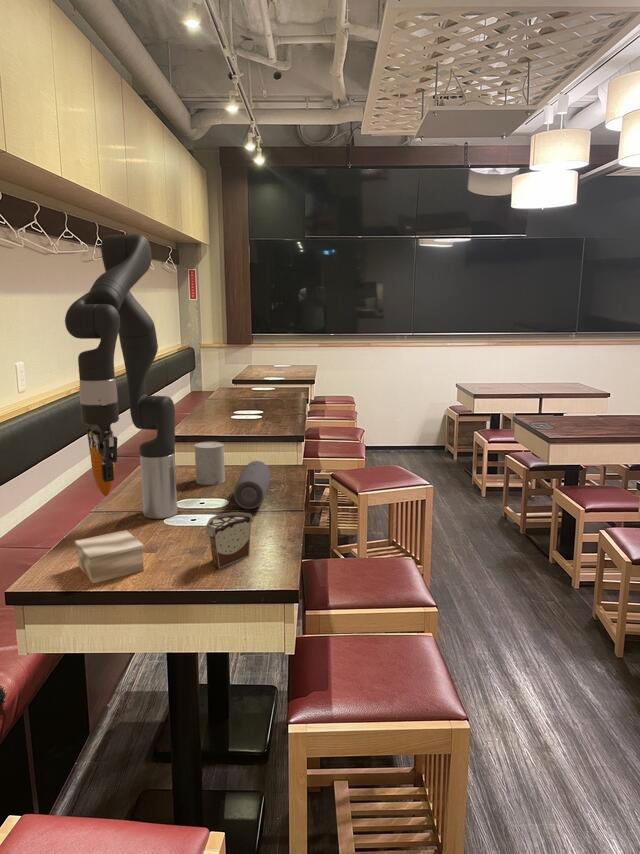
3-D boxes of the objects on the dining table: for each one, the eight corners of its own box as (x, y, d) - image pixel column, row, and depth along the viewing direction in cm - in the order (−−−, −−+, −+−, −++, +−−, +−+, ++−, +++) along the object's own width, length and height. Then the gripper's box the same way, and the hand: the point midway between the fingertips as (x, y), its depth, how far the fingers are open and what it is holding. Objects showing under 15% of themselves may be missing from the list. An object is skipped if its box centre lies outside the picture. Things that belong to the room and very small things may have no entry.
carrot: (93, 500, 135) (87, 431, 132) (94, 494, 139) (89, 427, 136) (117, 498, 136) (112, 430, 133) (118, 492, 141) (113, 425, 138)
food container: (235, 547, 152) (234, 508, 151) (253, 554, 149) (252, 513, 147) (195, 564, 143) (193, 521, 141) (213, 571, 139) (212, 528, 137)
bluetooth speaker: (242, 489, 200) (241, 459, 198) (271, 489, 200) (271, 459, 198) (232, 513, 177) (231, 479, 175) (265, 513, 177) (264, 479, 175)
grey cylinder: (223, 484, 205) (221, 447, 202) (193, 485, 205) (191, 448, 202) (226, 476, 214) (225, 441, 212) (198, 477, 214) (197, 441, 212)
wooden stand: (76, 566, 142) (74, 540, 141) (127, 554, 149) (126, 529, 148) (91, 584, 133) (89, 557, 132) (145, 570, 140) (143, 545, 138)
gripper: (71, 397, 137) (77, 474, 140) (90, 406, 126) (97, 489, 129) (106, 394, 141) (111, 468, 145) (128, 403, 130) (133, 483, 133)
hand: (104, 477), depth 137 cm, fingers closed on carrot, 4 cm apart
